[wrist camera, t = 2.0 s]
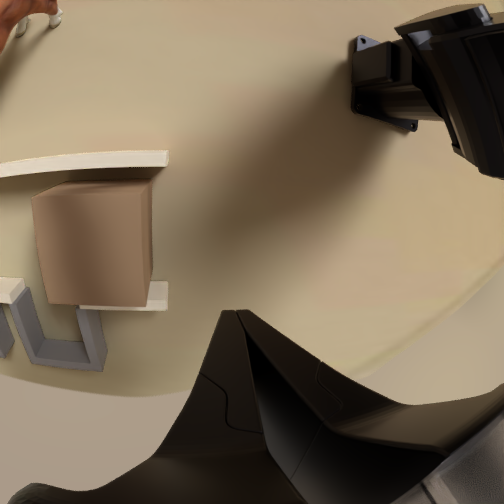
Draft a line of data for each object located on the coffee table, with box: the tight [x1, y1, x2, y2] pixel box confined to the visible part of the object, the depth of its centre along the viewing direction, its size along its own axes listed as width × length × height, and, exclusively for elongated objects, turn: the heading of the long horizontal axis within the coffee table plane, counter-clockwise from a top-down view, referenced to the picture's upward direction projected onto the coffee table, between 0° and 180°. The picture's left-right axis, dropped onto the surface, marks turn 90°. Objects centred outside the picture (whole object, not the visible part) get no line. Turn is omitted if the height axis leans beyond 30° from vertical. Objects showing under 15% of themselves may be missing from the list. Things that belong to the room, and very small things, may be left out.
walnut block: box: [31, 179, 153, 307], centre depth 15 cm, size 6×6×5 cm
